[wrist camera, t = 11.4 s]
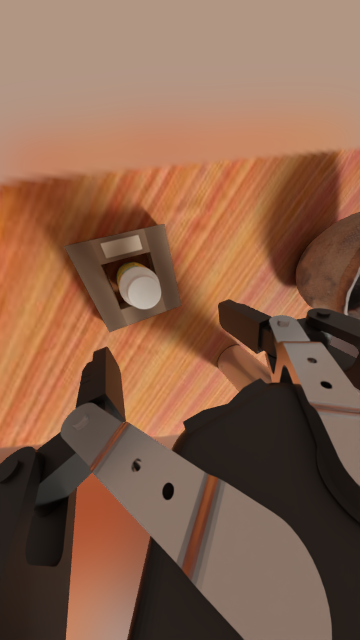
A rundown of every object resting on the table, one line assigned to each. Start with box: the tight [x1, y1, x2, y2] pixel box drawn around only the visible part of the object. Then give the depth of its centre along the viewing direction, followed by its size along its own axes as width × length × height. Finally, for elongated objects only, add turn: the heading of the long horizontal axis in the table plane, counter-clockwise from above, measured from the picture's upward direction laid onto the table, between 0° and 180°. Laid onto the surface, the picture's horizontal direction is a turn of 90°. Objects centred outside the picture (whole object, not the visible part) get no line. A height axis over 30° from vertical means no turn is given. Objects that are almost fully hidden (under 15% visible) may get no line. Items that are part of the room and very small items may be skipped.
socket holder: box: [64, 224, 181, 332], centre depth 25 cm, size 13×13×3 cm
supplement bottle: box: [116, 262, 161, 309], centre depth 22 cm, size 5×5×10 cm
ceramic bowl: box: [295, 212, 360, 319], centre depth 36 cm, size 22×22×15 cm
